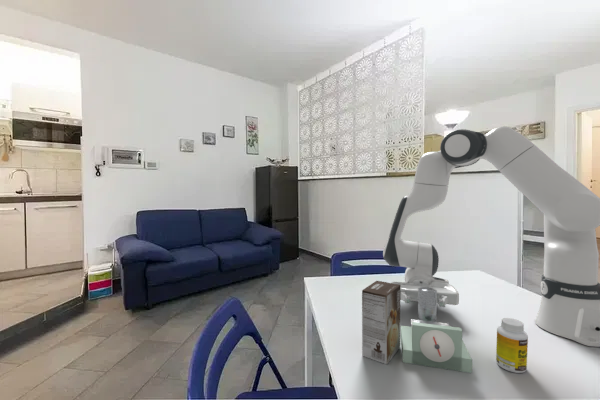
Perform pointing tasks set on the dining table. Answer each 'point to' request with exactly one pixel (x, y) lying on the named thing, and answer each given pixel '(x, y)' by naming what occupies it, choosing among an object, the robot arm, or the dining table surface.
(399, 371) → the dining table surface
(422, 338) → the scale
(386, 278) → the dining table surface
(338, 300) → the dining table surface
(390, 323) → the coffee box
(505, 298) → the dining table surface
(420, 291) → the cylinder
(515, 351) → the supplement bottle
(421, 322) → the grey square slab
